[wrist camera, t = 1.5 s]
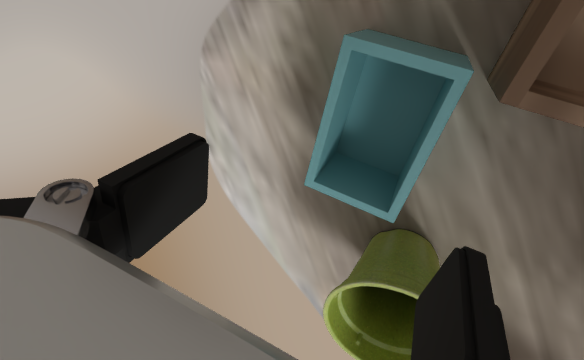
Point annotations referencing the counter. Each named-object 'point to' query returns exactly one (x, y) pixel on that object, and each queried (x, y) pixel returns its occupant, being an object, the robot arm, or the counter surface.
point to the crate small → (383, 119)
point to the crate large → (545, 62)
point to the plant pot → (381, 297)
